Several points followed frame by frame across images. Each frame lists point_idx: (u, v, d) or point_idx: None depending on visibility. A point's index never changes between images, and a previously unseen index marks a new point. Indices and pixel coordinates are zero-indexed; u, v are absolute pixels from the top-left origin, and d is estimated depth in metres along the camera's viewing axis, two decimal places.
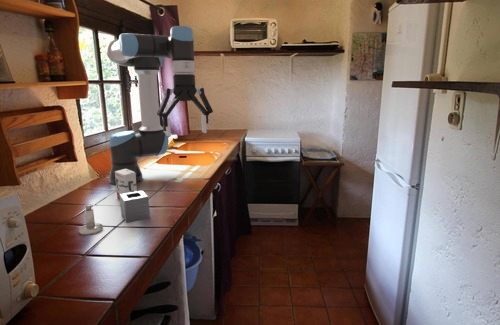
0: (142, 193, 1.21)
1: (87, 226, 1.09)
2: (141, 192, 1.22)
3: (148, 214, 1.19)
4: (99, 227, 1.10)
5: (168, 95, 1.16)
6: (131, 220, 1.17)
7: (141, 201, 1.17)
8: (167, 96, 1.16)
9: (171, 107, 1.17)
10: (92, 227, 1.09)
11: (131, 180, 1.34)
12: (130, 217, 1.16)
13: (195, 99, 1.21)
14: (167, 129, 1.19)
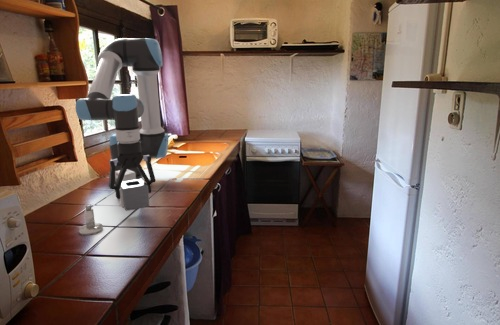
0: (141, 181, 1.21)
1: (87, 226, 1.09)
2: (140, 180, 1.21)
3: (147, 202, 1.19)
4: (99, 227, 1.10)
5: (113, 168, 1.13)
6: (130, 208, 1.16)
7: (140, 189, 1.17)
8: (113, 168, 1.13)
9: (120, 178, 1.15)
10: (92, 227, 1.09)
11: None
12: (129, 205, 1.16)
13: (139, 167, 1.17)
14: (120, 200, 1.18)
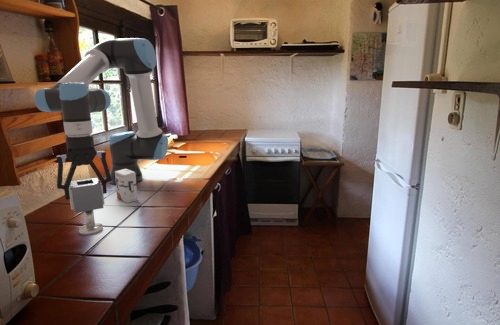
0: (95, 180, 1.08)
1: (87, 226, 1.09)
2: (94, 180, 1.09)
3: (101, 204, 1.06)
4: (99, 227, 1.10)
5: (60, 164, 1.01)
6: (81, 210, 1.04)
7: (92, 189, 1.04)
8: (60, 165, 1.01)
9: (69, 177, 1.03)
10: (92, 227, 1.09)
11: (131, 180, 1.34)
12: (79, 207, 1.03)
13: (92, 164, 1.05)
14: (70, 201, 1.05)
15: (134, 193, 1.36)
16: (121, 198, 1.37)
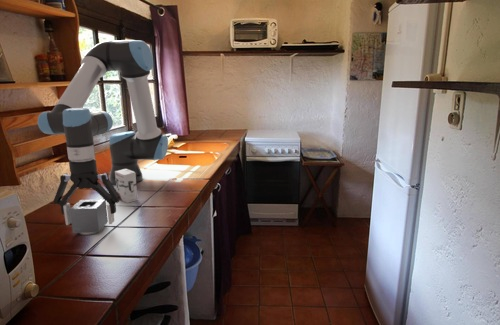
0: (98, 203, 1.09)
1: None
2: (99, 202, 1.10)
3: (97, 228, 1.06)
4: None
5: (62, 183, 1.05)
6: (78, 231, 1.06)
7: (88, 212, 1.05)
8: (61, 183, 1.05)
9: (67, 195, 1.06)
10: None
11: (131, 180, 1.34)
12: (77, 228, 1.06)
13: (93, 188, 1.05)
14: None
15: (134, 193, 1.36)
16: (121, 198, 1.37)
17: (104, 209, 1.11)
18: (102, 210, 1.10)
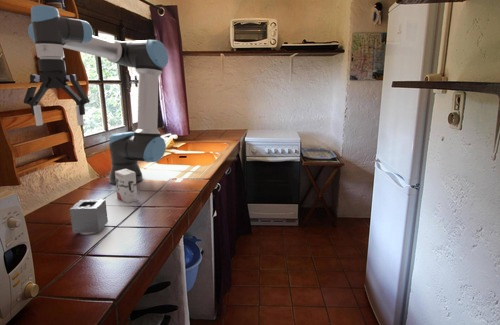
0: (98, 203, 1.09)
1: None
2: (99, 202, 1.10)
3: (97, 228, 1.06)
4: None
5: (31, 82, 1.09)
6: (78, 231, 1.06)
7: (88, 212, 1.05)
8: None
9: (36, 95, 1.10)
10: None
11: (131, 180, 1.34)
12: (77, 228, 1.06)
13: (62, 87, 1.09)
14: None
15: (134, 193, 1.36)
16: (121, 198, 1.37)
17: (104, 209, 1.11)
18: (102, 210, 1.10)
